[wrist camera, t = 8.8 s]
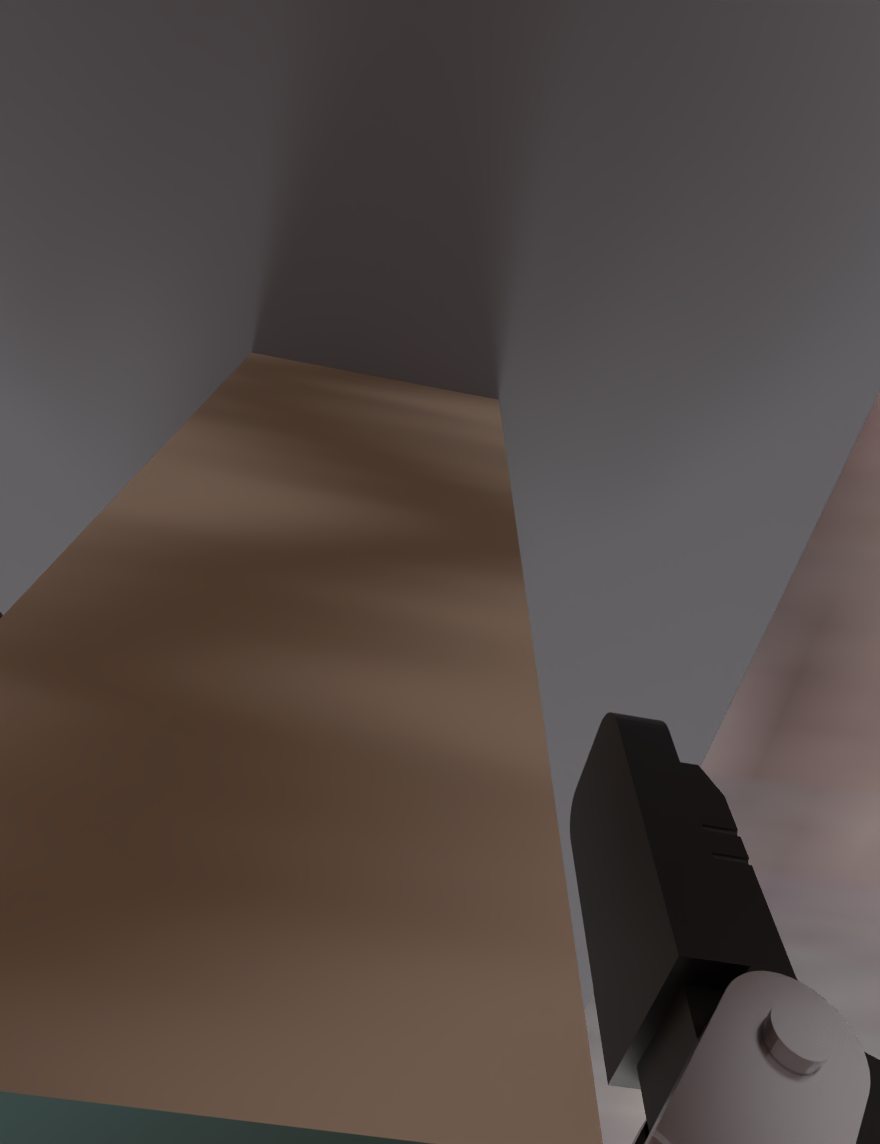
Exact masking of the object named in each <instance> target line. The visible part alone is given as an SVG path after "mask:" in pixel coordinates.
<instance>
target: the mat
mask: <svg viewBox="0 0 880 1144" xmlns="http://www.w3.org/2000/svg"><path fill="white" fill-rule="evenodd" d="M250 353H256V354H262V355H267V356H272V357H277V358H282V359H288V360H293V361H298V362H303V363H309V364H314V365H319V366H324V367H330V368H335V369H340V370H345V371H351V372H356V373H361V374H366V375H372V376H377V377H382V378H387V379H393V380H398V381H403V382H408V383H413V384H419V385H424V386H429V387H434V388H440V389H445V390H450V391H455V392H461V393H466V394H471V395H476V396H482V397H487V398H492V399H497V400H499V405H500V413H501V420H502V427H503V434H504V441H505V448H506V455H507V463H508V470H509V477H510V484H511V491H512V498H513V506H514V513H515V520H516V527H517V534H518V541H519V548H520V556H521V563H522V570H523V577H524V584H525V591H526V599H527V606H528V613H529V620H530V627H531V634H532V641H533V649H534V656H535V663H536V670H537V677H538V684H539V691H540V699H541V706H542V713H543V720H544V727H545V734H546V742H547V749H548V756H549V763H550V770H551V777H552V784H553V792H554V799H555V806H556V813H557V820H558V827H559V835H560V842H561V849H562V856H563V863H564V870H565V877H566V885H567V892H568V899H569V906H570V913H571V920H572V927H573V935H574V942H575V949H576V956H577V963H578V970H579V978H580V985H581V992H582V999H583V1006H584V1010H585V1008H586V1006H587V1004H588V1002H589V1000H590V997H591V995H592V993H593V991H594V990H593V983H592V977H591V970H590V964H589V957H588V950H587V944H586V937H585V931H584V924H583V918H582V911H581V905H580V898H579V892H578V885H577V879H576V872H575V866H574V859H573V853H572V846H571V839H570V814H571V806H572V801H573V796H574V793H575V790H576V787H577V784H578V782H579V779H580V776H581V774H582V771H583V769H584V766H585V763H586V761H587V758H588V755H589V753H590V750H591V747H592V745H593V742H594V739H595V737H596V734H597V731H598V729H599V726H600V724H601V721H602V719H603V718H604V716H605V715H606V714H607V713H609V712H612V713H619V714H625V715H631V716H637V717H643V718H649V719H655V720H661V721H663V722H665V723H666V725H667V726H668V729H669V731H670V734H671V737H672V740H673V743H674V746H675V749H676V751H677V754H678V757H679V760H680V762H683V763H689V764H695V765H699V767H701V765H702V763H703V761H704V758H705V756H706V754H707V752H708V750H709V748H710V746H711V744H712V742H713V740H714V738H715V735H716V733H717V731H718V729H719V727H720V725H721V723H722V721H723V719H724V717H725V714H726V712H727V710H728V708H729V706H730V704H731V702H732V700H733V698H734V696H735V694H736V691H737V689H738V687H739V685H740V683H741V681H742V679H743V677H744V675H745V673H746V670H747V668H748V666H749V664H750V662H751V660H752V658H753V656H754V654H755V652H756V649H757V647H758V645H759V643H760V641H761V639H762V637H763V635H764V633H765V631H766V629H767V626H768V624H769V622H770V620H771V618H772V616H773V614H774V612H775V610H776V608H777V605H778V603H779V601H780V599H781V597H782V595H783V593H784V591H785V589H786V587H787V585H788V582H789V580H790V578H791V576H792V574H793V572H794V570H795V568H796V566H797V564H798V561H799V559H800V557H801V555H802V553H803V551H804V549H805V547H806V545H807V543H808V540H809V538H810V536H811V534H812V532H813V530H814V528H815V526H816V524H817V522H818V520H819V517H820V515H821V513H822V511H823V509H824V507H825V505H826V503H827V501H828V499H829V496H830V494H831V492H832V490H833V488H834V486H835V484H836V482H837V480H838V478H839V476H840V473H841V471H842V469H843V467H844V465H845V463H846V461H847V459H848V457H849V455H850V452H851V450H852V448H853V446H854V444H855V442H856V440H857V438H858V436H859V434H860V431H861V429H862V427H863V425H864V423H865V421H866V419H867V417H868V415H869V413H870V411H871V408H872V406H873V404H874V402H875V400H876V398H877V396H878V394H879V392H880V0H0V612H1V613H2V615H4V614H5V613H6V612H7V611H8V610H9V609H10V608H11V607H12V606H13V605H14V604H15V603H16V601H17V600H18V599H19V598H20V597H21V596H22V595H23V594H24V593H25V592H26V591H27V590H28V589H29V588H30V587H31V586H32V585H33V583H34V582H35V581H36V580H37V579H38V578H39V577H40V576H41V575H42V574H43V573H44V572H45V571H46V570H47V569H48V568H49V567H50V565H51V564H52V563H53V562H54V561H55V560H56V559H57V558H58V557H59V556H60V555H61V554H62V553H63V552H64V551H65V550H66V548H67V547H68V546H69V545H70V544H71V543H72V542H73V541H74V540H75V539H76V538H77V537H78V536H79V535H80V534H81V533H82V532H83V530H84V529H85V528H86V527H87V526H88V525H89V524H90V523H91V522H92V521H93V520H94V519H95V518H96V517H97V516H98V515H99V513H100V512H101V511H102V510H103V509H104V508H105V507H106V506H107V505H108V504H109V503H110V502H111V501H112V500H113V499H114V498H115V497H116V495H117V494H118V493H119V492H120V491H121V490H122V489H123V488H124V487H125V486H126V485H127V484H128V483H129V482H130V481H131V480H132V479H133V477H134V476H135V475H136V474H137V473H138V472H139V471H140V470H141V469H142V468H143V467H144V466H145V465H146V464H147V463H148V462H149V460H150V459H151V458H152V457H153V456H154V455H155V454H156V453H157V452H158V451H159V450H160V449H161V448H162V447H163V446H164V445H165V444H166V442H167V441H168V440H169V439H170V438H171V437H172V436H173V435H174V434H175V433H176V432H177V431H178V430H179V429H180V428H181V427H182V426H183V424H184V423H185V422H186V421H187V420H188V419H189V418H190V417H191V416H192V415H193V414H194V413H195V412H196V411H197V410H198V409H199V407H200V406H201V405H202V404H203V403H204V402H205V401H206V400H207V399H208V398H209V397H210V396H211V395H212V394H213V393H214V392H215V391H216V389H217V388H218V387H219V386H220V385H221V384H222V383H223V382H224V381H225V380H226V379H227V378H228V377H229V376H230V375H231V374H232V373H233V371H234V370H235V369H236V368H237V367H238V366H239V365H240V364H241V363H242V362H243V361H244V360H245V359H246V358H247V357H248V356H249V354H250Z"/></svg>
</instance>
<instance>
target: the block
mask: <svg viewBox="0 0 880 1144" xmlns="http://www.w3.org/2000/svg"><path fill="white" fill-rule="evenodd" d="M0 1144H603V1142H602V1135H601V1128H600V1121H599V1113H598V1106H597V1099H596V1092H595V1085H594V1078H593V1071H592V1063H591V1056H590V1049H589V1042H588V1035H587V1028H586V1020H585V1013H584V1006H583V999H582V992H581V985H580V978H579V970H578V963H577V956H576V949H575V942H574V935H573V927H572V920H571V913H570V906H569V899H568V892H567V885H566V877H565V870H564V863H563V856H562V849H561V842H560V835H559V827H558V820H557V813H556V806H555V799H554V792H553V784H552V777H551V770H550V763H549V756H548V749H547V742H546V734H545V727H544V720H543V713H542V706H541V699H540V691H539V684H538V677H537V670H536V663H535V656H534V649H533V641H532V634H531V627H530V620H529V613H528V606H527V599H526V591H525V584H524V577H523V570H522V563H521V556H520V548H519V541H518V534H517V527H516V520H515V513H514V506H513V498H512V491H511V484H510V477H509V470H508V463H507V455H506V448H505V441H504V434H503V427H502V420H501V413H500V405H499V400H497V399H492V398H487V397H482V396H476V395H471V394H466V393H461V392H455V391H450V390H445V389H440V388H434V387H429V386H424V385H419V384H413V383H408V382H403V381H398V380H393V379H387V378H382V377H377V376H372V375H366V374H361V373H356V372H351V371H345V370H340V369H335V368H330V367H324V366H319V365H314V364H309V363H303V362H298V361H293V360H288V359H282V358H277V357H272V356H267V355H262V354H256V353H250V354H249V356H248V357H247V358H246V359H245V360H244V361H243V362H242V363H241V364H240V365H239V366H238V367H237V368H236V369H235V370H234V371H233V373H232V374H231V375H230V376H229V377H228V378H227V379H226V380H225V381H224V382H223V383H222V384H221V385H220V386H219V387H218V388H217V389H216V391H215V392H214V393H213V394H212V395H211V396H210V397H209V398H208V399H207V400H206V401H205V402H204V403H203V404H202V405H201V406H200V407H199V409H198V410H197V411H196V412H195V413H194V414H193V415H192V416H191V417H190V418H189V419H188V420H187V421H186V422H185V423H184V424H183V426H182V427H181V428H180V429H179V430H178V431H177V432H176V433H175V434H174V435H173V436H172V437H171V438H170V439H169V440H168V441H167V442H166V444H165V445H164V446H163V447H162V448H161V449H160V450H159V451H158V452H157V453H156V454H155V455H154V456H153V457H152V458H151V459H150V460H149V462H148V463H147V464H146V465H145V466H144V467H143V468H142V469H141V470H140V471H139V472H138V473H137V474H136V475H135V476H134V477H133V479H132V480H131V481H130V482H129V483H128V484H127V485H126V486H125V487H124V488H123V489H122V490H121V491H120V492H119V493H118V494H117V495H116V497H115V498H114V499H113V500H112V501H111V502H110V503H109V504H108V505H107V506H106V507H105V508H104V509H103V510H102V511H101V512H100V513H99V515H98V516H97V517H96V518H95V519H94V520H93V521H92V522H91V523H90V524H89V525H88V526H87V527H86V528H85V529H84V530H83V532H82V533H81V534H80V535H79V536H78V537H77V538H76V539H75V540H74V541H73V542H72V543H71V544H70V545H69V546H68V547H67V548H66V550H65V551H64V552H63V553H62V554H61V555H60V556H59V557H58V558H57V559H56V560H55V561H54V562H53V563H52V564H51V565H50V567H49V568H48V569H47V570H46V571H45V572H44V573H43V574H42V575H41V576H40V577H39V578H38V579H37V580H36V581H35V582H34V583H33V585H32V586H31V587H30V588H29V589H28V590H27V591H26V592H25V593H24V594H23V595H22V596H21V597H20V598H19V599H18V600H17V601H16V603H15V604H14V605H13V606H12V607H11V608H10V609H9V610H8V611H7V612H6V613H5V614H4V615H3V616H2V617H1V618H0Z"/></svg>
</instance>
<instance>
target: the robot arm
mask: <svg viewBox="0 0 880 1144" xmlns="http://www.w3.org/2000/svg"><path fill="white" fill-rule="evenodd" d="M2 616H3V615H2V613H1V612H0V618H1V617H2ZM737 831H738V829H737V827H736V824H735V822H734V819H733V817H732V814H731V812H730V809H729V807H728V804H727V801H726V799H725V796H724V795H723V794H722V793H721V792H720V790H719V789H718V788H717V787H716V786H715V784H714V783H713V782H712V781H711V780H710V778H709V777H708V776H707V775H706V774H705V773H704V771H703V770H702V769H701V768H700V767H699V765H695V764H689V763H683V762H680V760H679V757H678V754H677V751H676V749H675V746H674V743H673V740H672V737H671V734H670V731H669V729H668V726H667V725H666V723H665V722H663V721H661V720H655V719H649V718H643V717H637V716H631V715H625V714H619V713H612V712H609V713H607V714H606V715H605V716H604V718H603V719H602V721H601V724H600V726H599V729H598V731H597V734H596V737H595V739H594V742H593V745H592V747H591V750H590V753H589V755H588V758H587V761H586V763H585V766H584V769H583V771H582V774H581V776H580V779H579V782H578V784H577V787H576V790H575V793H574V796H573V801H572V806H571V814H570V839H571V846H572V853H573V859H574V866H575V872H576V879H577V885H578V892H579V898H580V905H581V911H582V918H583V924H584V931H585V937H586V944H587V950H588V957H589V964H590V970H591V977H592V983H593V990H594V996H595V1003H596V1009H597V1016H598V1022H599V1029H600V1035H601V1042H602V1048H603V1055H604V1061H605V1068H606V1074H607V1081H608V1085H612V1086H619V1087H627V1088H635V1089H641V1092H642V1098H643V1103H644V1108H645V1114H646V1120H645V1122H644V1123H643V1125H642V1127H641V1128H640V1130H639V1132H638V1134H637V1136H636V1137H635V1139H634V1141H633V1143H632V1144H880V1060H879V1059H877V1058H875V1057H873V1056H871V1055H869V1054H867V1053H866V1052H864V1051H863V1048H862V1046H861V1044H860V1042H859V1040H858V1038H857V1037H856V1035H855V1033H854V1032H853V1030H852V1029H851V1027H850V1026H849V1024H848V1023H847V1022H846V1020H845V1019H844V1018H843V1017H842V1016H841V1014H840V1013H839V1012H838V1011H837V1010H836V1009H835V1008H834V1007H833V1006H832V1005H831V1004H830V1003H829V1002H828V1001H827V1000H826V999H824V998H823V997H822V996H821V995H819V994H818V993H817V992H815V991H814V990H813V989H811V988H809V987H808V986H806V985H805V984H803V983H801V982H799V981H798V980H797V978H796V976H795V974H794V971H793V969H792V966H791V964H790V961H789V958H788V956H787V953H786V951H785V948H784V946H783V943H782V941H781V938H780V936H779V933H778V931H777V928H776V926H775V923H774V920H773V918H772V915H771V913H770V910H769V908H768V905H767V903H766V900H765V898H764V895H763V893H762V890H761V888H760V885H759V883H758V880H757V877H756V875H755V872H754V870H753V867H752V866H751V865H749V864H748V859H749V857H748V855H747V852H746V850H745V847H744V845H743V842H742V839H741V837H739V836H737Z"/></svg>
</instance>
